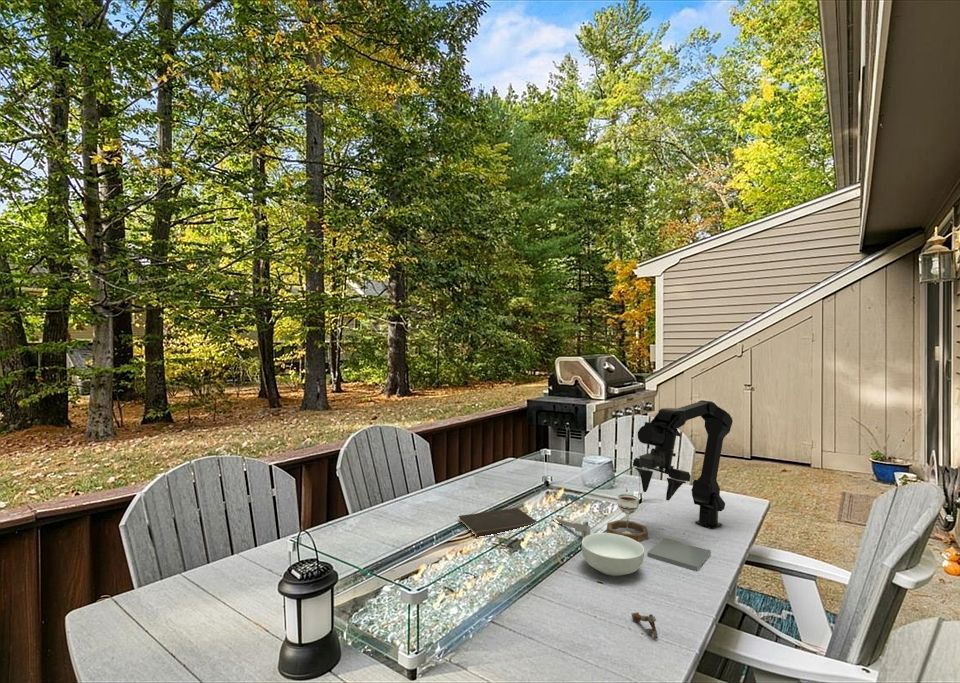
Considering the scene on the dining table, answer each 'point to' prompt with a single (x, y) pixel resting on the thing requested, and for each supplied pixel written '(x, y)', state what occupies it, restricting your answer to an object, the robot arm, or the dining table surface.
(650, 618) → the wooden post with brackets
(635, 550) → the cereal bowl
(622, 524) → the ring holder
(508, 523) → the hardcover book
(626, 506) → the wineglass
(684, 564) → the slate board
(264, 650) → the dining table surface
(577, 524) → the caliper
